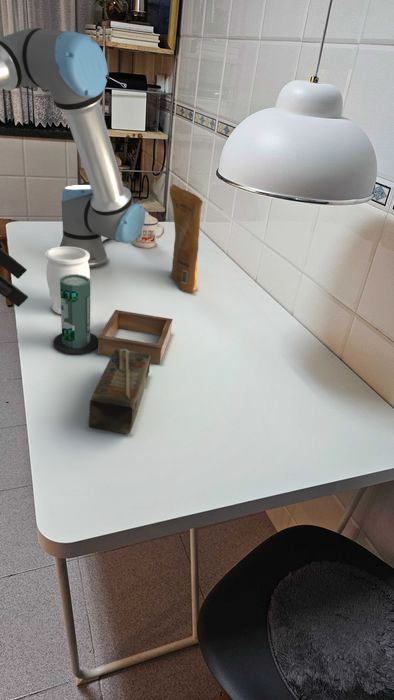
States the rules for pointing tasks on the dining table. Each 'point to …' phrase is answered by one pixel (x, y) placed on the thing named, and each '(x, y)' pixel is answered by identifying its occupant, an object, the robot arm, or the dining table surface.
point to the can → (75, 310)
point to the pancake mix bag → (185, 237)
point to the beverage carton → (119, 391)
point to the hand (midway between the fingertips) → (22, 287)
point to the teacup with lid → (148, 232)
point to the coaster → (76, 351)
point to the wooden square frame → (135, 323)
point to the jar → (64, 269)
